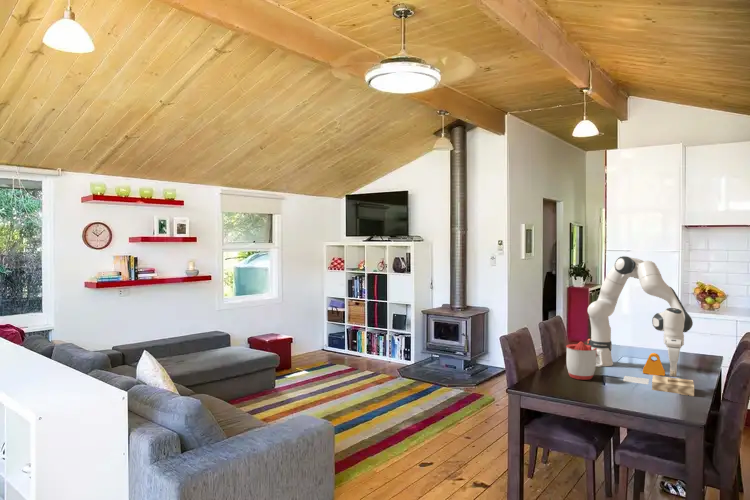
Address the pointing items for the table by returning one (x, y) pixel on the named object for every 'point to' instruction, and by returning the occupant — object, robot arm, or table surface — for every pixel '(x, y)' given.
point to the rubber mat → (636, 380)
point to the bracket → (654, 366)
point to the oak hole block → (673, 385)
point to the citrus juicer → (581, 361)
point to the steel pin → (673, 371)
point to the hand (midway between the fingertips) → (673, 367)
